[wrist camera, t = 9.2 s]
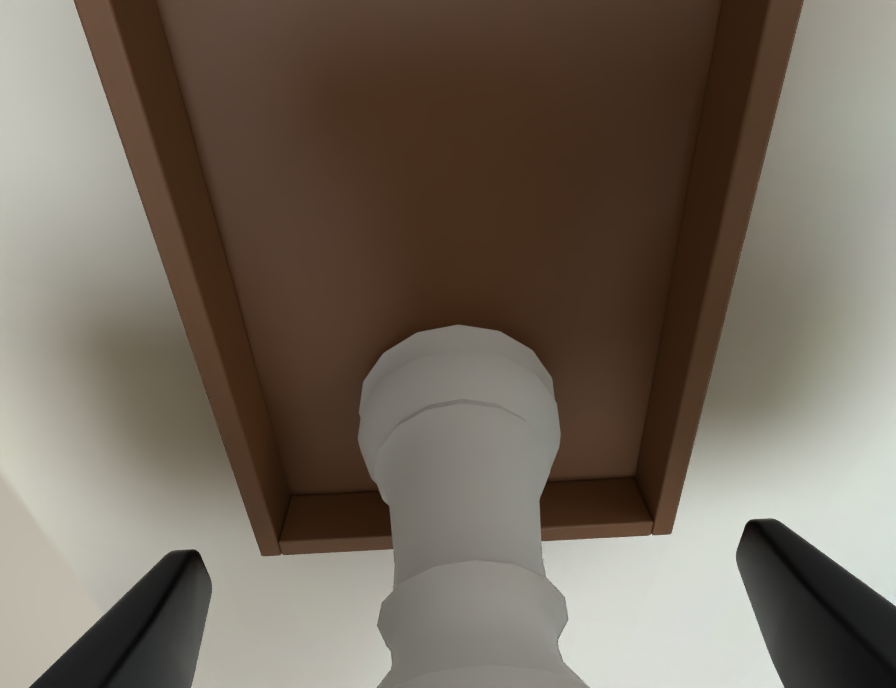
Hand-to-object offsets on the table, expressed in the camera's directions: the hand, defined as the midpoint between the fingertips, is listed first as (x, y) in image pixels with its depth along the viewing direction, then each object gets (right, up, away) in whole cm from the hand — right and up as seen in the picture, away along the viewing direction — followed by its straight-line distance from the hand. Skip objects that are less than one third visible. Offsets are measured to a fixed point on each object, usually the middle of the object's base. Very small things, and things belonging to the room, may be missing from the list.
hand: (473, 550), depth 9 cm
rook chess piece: (0, +2, +4) cm, 5 cm away
